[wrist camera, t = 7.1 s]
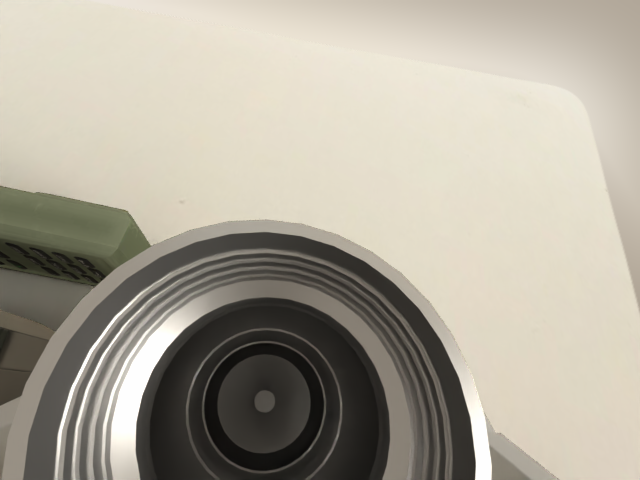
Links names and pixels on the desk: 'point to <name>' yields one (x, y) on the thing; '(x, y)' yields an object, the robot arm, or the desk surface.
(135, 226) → the handheld radio
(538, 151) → the desk surface
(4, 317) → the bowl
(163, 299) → the metal bottle
